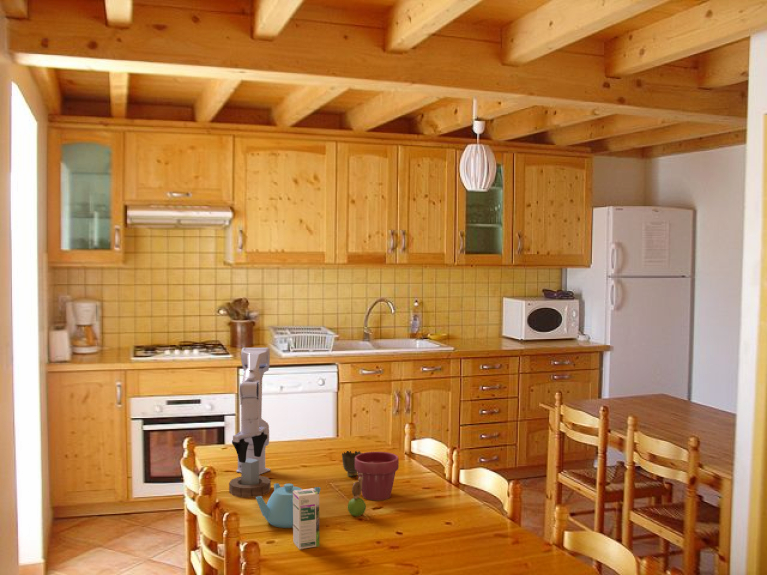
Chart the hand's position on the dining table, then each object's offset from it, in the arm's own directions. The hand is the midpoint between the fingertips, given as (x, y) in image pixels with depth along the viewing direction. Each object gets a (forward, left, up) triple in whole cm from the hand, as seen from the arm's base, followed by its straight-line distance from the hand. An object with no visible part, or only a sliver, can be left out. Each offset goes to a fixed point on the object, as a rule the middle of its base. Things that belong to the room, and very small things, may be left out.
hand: (250, 459), depth 247 cm
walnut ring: (0, 0, -10) cm, 10 cm away
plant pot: (+38, +17, -11) cm, 43 cm away
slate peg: (0, 0, -10) cm, 10 cm away
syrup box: (+42, -27, -11) cm, 51 cm away
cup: (+20, +31, -11) cm, 38 cm away
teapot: (+27, -15, -11) cm, 33 cm away
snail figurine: (+42, -1, -11) cm, 43 cm away
